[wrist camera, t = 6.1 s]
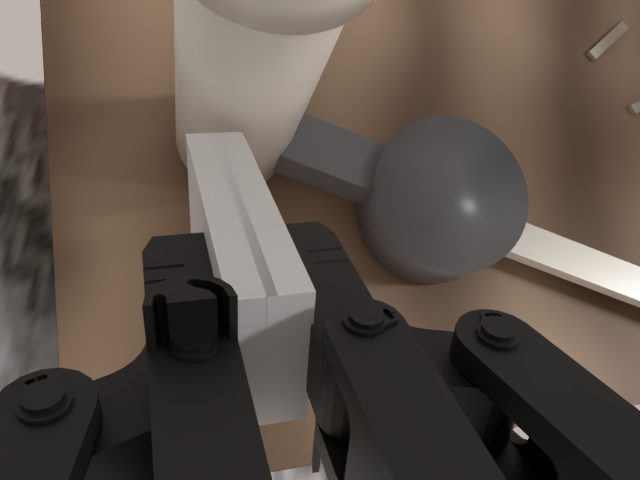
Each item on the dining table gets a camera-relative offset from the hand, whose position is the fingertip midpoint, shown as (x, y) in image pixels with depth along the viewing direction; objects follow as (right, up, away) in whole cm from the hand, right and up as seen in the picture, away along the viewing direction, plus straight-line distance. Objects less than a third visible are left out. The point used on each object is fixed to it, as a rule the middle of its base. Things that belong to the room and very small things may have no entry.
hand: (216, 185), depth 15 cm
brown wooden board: (+7, 0, +8) cm, 10 cm away
